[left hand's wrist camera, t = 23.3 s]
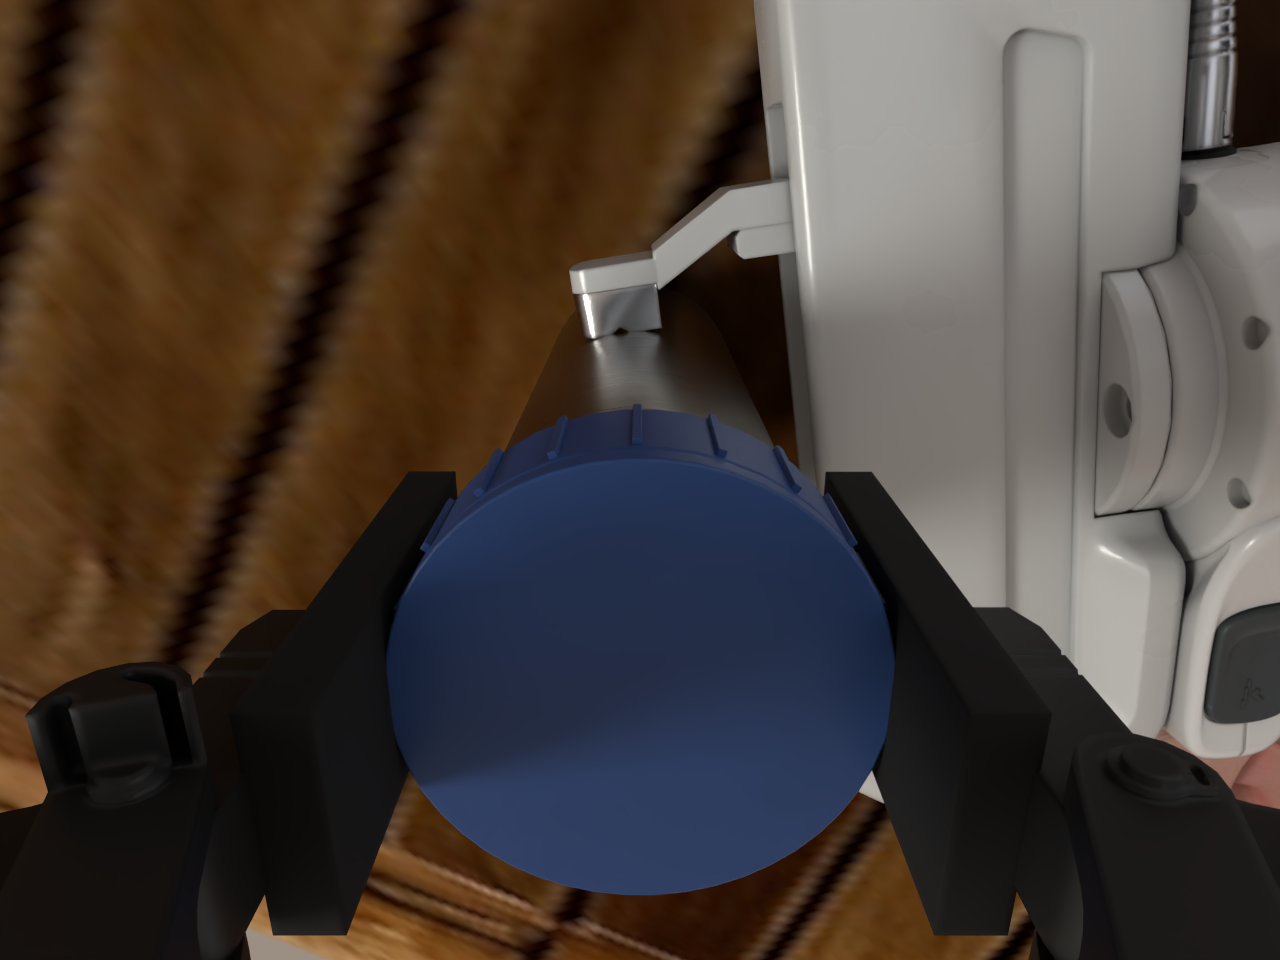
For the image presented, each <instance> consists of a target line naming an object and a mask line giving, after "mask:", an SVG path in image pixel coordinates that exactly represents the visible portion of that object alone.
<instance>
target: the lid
mask: <svg viewBox="0 0 1280 960" xmlns="http://www.w3.org/2000/svg"><path fill="white" fill-rule="evenodd" d="M856 544H857V541H856V540H855V538H854V536H853V534H852V533H851V531H850V529H849V527H848V526H847V524H846V522H845V520H844V519H843V517H842V515H841V513H840V512H839V510H838V508H837V506H836V505H835V503H834V501H833V499H832V498H831V496H830V495H829V494H828V493H827V494H826V495H824V496H822V495H821V494H820V492H819V491H818V490H817V488H816V487H815V486H814V484H813V483H812V482H811V481H810V480H809V479H808V478H807V477H806V476H805V475H804V474H803V473H802V472H801V471H800V470H799V469H798V468H797V467H796V466H795V465H794V464H792V463H791V462H790V461H789V460H788V458H787V456H786V454H785V452H784V450H783V449H782V448H781V447H780V446H778V445H776V446H775V447H774V449H773V448H771V447H770V446H768V445H766V444H764V443H763V442H761V441H759V440H757V439H756V438H754V437H752V436H750V435H749V434H747V433H745V432H743V431H740V430H738V429H735V428H733V427H730V426H728V425H725V424H723V423H720V422H719V421H718V418H717V416H716V415H713V414H709V416H708V419H707V418H703V417H699V416H695V415H691V414H688V413H680V412H672V411H665V410H657V409H642V405H641V404H633V409H624V410H617V411H609V412H601V413H594V414H590V415H586V416H582V417H578V418H574V419H571V420H567V417H566V416H562V417H559V418H558V420H557V423H556V425H553V426H551V427H548V428H546V429H544V430H541V431H539V432H536V433H534V434H533V435H531V436H529V437H527V438H526V439H524V440H522V441H520V442H518V443H517V444H515V445H513V446H511V447H510V448H508V449H507V450H506V451H505V452H502V451H501V450H500V449H497V450H496V451H495V452H493V454H492V456H491V458H490V460H489V462H488V464H487V465H486V466H485V467H484V468H483V469H482V470H481V471H480V472H479V473H478V474H477V475H476V476H475V477H474V478H473V479H472V480H471V481H470V482H469V483H468V484H467V486H466V487H465V488H464V490H463V491H462V492H461V494H460V495H459V496H458V498H457V499H456V500H455V501H454V500H453V499H451V498H449V499H448V501H447V502H446V504H445V506H444V508H443V509H442V511H441V513H440V515H439V516H438V518H437V520H436V522H435V523H434V525H433V527H432V529H431V530H430V532H429V534H428V536H427V537H426V539H425V541H424V543H423V544H422V546H421V548H420V549H421V550H423V551H424V552H426V553H425V555H424V556H423V557H422V558H421V560H420V562H419V563H418V565H417V567H416V569H415V571H414V573H413V574H412V576H411V578H410V580H409V582H408V583H407V585H406V587H405V589H404V591H403V592H402V594H401V596H400V598H399V600H398V602H397V603H396V605H395V607H394V609H393V616H394V619H393V622H392V624H391V628H390V633H389V638H388V644H387V649H386V669H387V679H388V687H389V696H390V704H391V712H392V720H393V728H394V735H395V740H396V743H397V745H398V747H399V750H400V752H401V754H402V756H403V759H404V761H405V763H406V765H407V767H408V769H409V771H410V772H411V774H412V775H413V777H414V779H415V780H416V782H417V784H418V785H419V787H420V788H421V790H422V791H423V793H424V794H425V795H426V796H427V798H428V799H429V800H430V801H431V802H432V804H433V805H434V806H435V807H436V808H437V810H438V811H439V812H440V813H441V814H442V815H443V816H444V817H445V818H446V819H447V820H448V821H449V822H450V823H451V824H452V825H453V826H454V827H456V828H457V829H458V830H459V831H460V832H461V833H462V834H463V835H465V836H466V837H467V838H469V839H470V840H471V841H473V842H474V843H476V844H477V845H478V846H480V847H481V848H482V849H484V850H485V851H487V852H489V853H490V854H492V855H494V856H496V857H497V858H499V859H501V860H502V861H504V862H506V863H508V864H509V865H511V866H514V867H516V868H518V869H521V870H523V871H525V872H527V873H530V874H532V875H534V876H537V877H539V878H543V879H546V880H549V881H552V882H555V883H558V884H562V885H565V886H569V887H574V888H579V889H584V890H589V891H593V892H601V893H611V894H621V895H660V894H670V893H680V892H688V891H693V890H697V889H702V888H707V887H712V886H716V885H719V884H723V883H726V882H729V881H732V880H735V879H738V878H742V877H744V876H747V875H749V874H751V873H754V872H756V871H758V870H761V869H763V868H765V867H767V866H770V865H772V864H773V863H775V862H777V861H779V860H780V859H782V858H784V857H786V856H787V855H789V854H791V853H793V852H794V851H796V850H797V849H799V848H800V847H802V846H803V845H804V844H806V843H807V842H808V841H810V840H811V839H812V838H814V837H815V836H816V835H818V834H819V833H820V832H821V831H822V830H824V829H825V828H826V827H827V826H828V825H829V824H830V823H831V822H832V821H833V820H834V819H835V818H836V817H837V816H838V815H839V814H840V813H841V812H842V811H843V810H844V809H845V807H846V806H847V805H848V804H849V803H850V801H851V800H852V799H853V798H854V797H855V795H856V794H857V793H858V792H859V790H860V789H861V787H862V785H863V784H864V782H865V781H866V779H867V777H868V776H869V774H870V773H871V771H872V769H873V768H874V766H875V764H876V761H877V759H878V757H879V755H880V752H881V750H882V748H883V746H884V743H885V741H886V734H887V727H888V719H889V711H890V702H891V694H892V686H893V678H894V668H895V658H896V654H895V647H894V642H893V637H892V631H891V626H890V623H889V621H888V618H887V615H886V612H885V610H888V608H887V604H886V602H885V600H884V598H883V596H882V595H881V593H880V591H879V589H878V587H877V586H876V584H875V582H874V580H873V578H872V577H871V575H870V573H869V571H868V570H867V568H866V566H865V564H864V562H863V561H862V559H861V557H860V555H859V553H858V552H855V550H854V549H853V546H855V545H856Z"/></svg>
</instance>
